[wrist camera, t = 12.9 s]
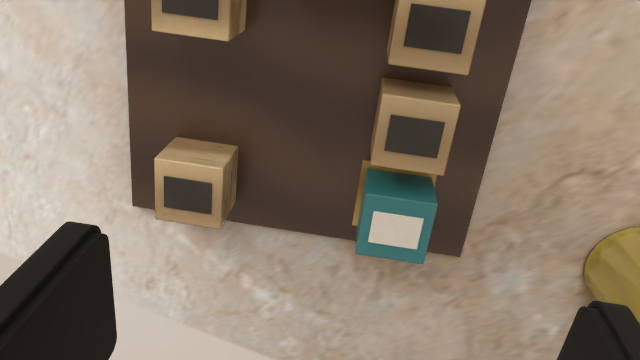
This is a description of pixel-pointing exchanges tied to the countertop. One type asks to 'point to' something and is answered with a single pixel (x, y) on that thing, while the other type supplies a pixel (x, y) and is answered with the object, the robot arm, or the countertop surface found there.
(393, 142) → the tile
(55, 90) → the countertop surface
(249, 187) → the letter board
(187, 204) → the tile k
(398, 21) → the tile
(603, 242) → the vase
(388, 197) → the tile
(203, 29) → the light wood cube
